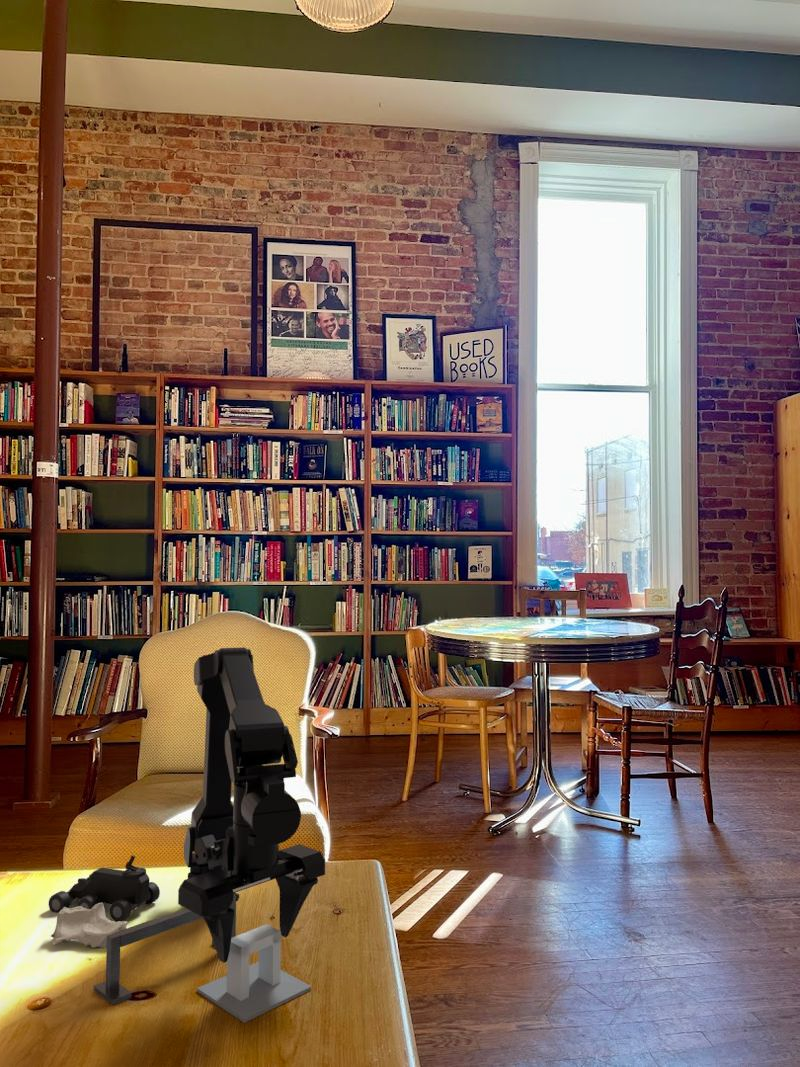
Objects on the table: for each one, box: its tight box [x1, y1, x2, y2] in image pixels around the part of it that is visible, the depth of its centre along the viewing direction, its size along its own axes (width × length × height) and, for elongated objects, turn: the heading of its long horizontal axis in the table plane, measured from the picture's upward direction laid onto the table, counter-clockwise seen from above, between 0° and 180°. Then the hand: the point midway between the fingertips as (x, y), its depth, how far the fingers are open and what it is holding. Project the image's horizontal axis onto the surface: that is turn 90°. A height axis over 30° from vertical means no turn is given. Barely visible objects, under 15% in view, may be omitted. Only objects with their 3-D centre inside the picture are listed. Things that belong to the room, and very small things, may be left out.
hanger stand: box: [93, 894, 237, 1006], centre depth 101 cm, size 19×5×7 cm, turn 137°
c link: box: [226, 923, 282, 1001], centre depth 95 cm, size 3×6×6 cm, turn 137°
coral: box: [50, 903, 129, 949], centre depth 109 cm, size 6×10×4 cm, turn 93°
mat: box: [196, 961, 312, 1024], centre depth 95 cm, size 10×10×1 cm
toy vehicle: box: [48, 855, 161, 922], centre depth 120 cm, size 8×15×9 cm, turn 70°
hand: (254, 948), depth 95 cm, fingers open, 9 cm apart
